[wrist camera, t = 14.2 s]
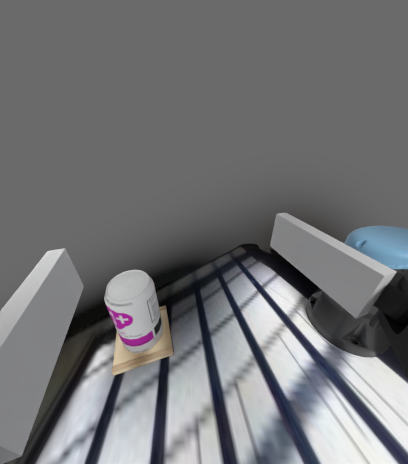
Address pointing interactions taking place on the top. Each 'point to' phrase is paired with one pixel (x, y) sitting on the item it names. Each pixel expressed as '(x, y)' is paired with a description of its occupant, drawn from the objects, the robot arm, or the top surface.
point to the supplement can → (134, 310)
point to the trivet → (132, 360)
